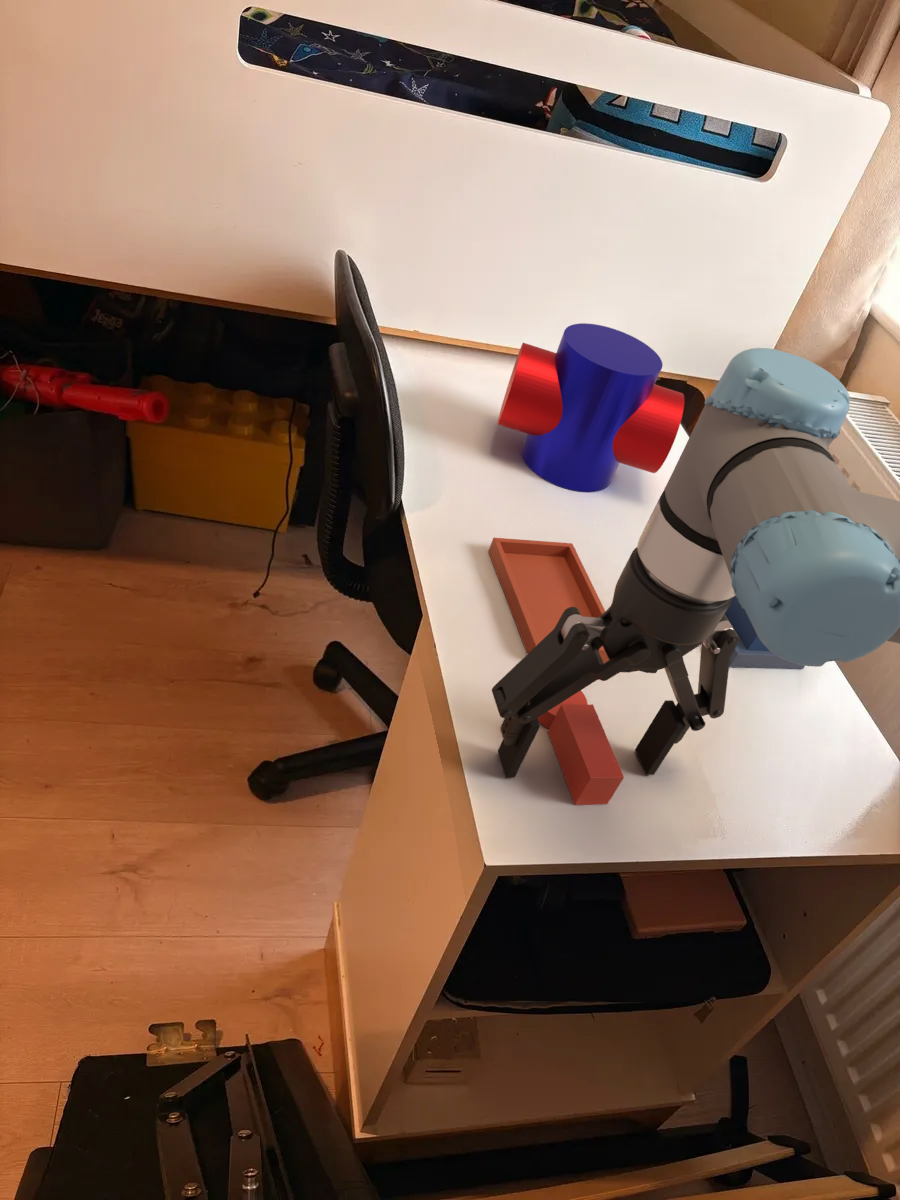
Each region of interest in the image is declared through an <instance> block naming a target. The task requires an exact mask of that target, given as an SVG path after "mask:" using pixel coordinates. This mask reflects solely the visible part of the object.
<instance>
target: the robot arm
mask: <svg viewBox="0 0 900 1200" xmlns="http://www.w3.org/2000/svg"><path fill="white" fill-rule="evenodd" d="M850 402H851V396H850V394H849V391H848V389H847V388H846V387H845V385H844V384H843V383H842V382H841V381H840V380H839V379H838V378H837V377H835V376H834V374H832V373H831V372H829V371H828V370H826V369H825V368H823V367H822V366H820V365H818V364H816V363H814V362H812V361H811V360H808V359H806V358H803V357H801V356H798V355H796V354H793V353H790V352H787V351H783V350H778V349H775V348H767V347H754V348H748V349H745V350H742V351H740V352H739V353H737V354H736V355H734V356H733V357H732V358H731V359H730V361H729V362H728V364H727V366H726V368H725V370H724V371H723V373H722V375H721V377H720V378H719V380H718V382H717V383H716V385H715V387H714V389H713V390H712V392H711V393H710V395H708V396H707V397H706V398H705V400H704V407H703V408H702V411H701V413H700V415H699V417H698V419H697V421H696V423H695V425H694V428H693V429H692V431H691V434H690V435H689V438H688V440H687V442H686V444H685V445H684V448H683V450H682V452H681V454H680V456H679V458H678V461H677V463H676V464H675V466H674V468H673V471H672V473H671V475H670V477H669V479H668V481H667V483H666V485H665V487H664V489H663V491H662V493H661V495H660V496H659V498H658V500H657V502H656V505H655V507H654V508H653V511H652V513H651V514H650V516H649V519H648V520H647V522H646V524H645V527H644V528H643V531H642V532H641V535H640V536H639V539H638V542H637V545H636V547H635V548H634V549H633V550H632V552H631V553H630V556H629V558H628V560H627V561H626V563H625V566H624V568H623V570H622V572H620V573H621V574H620V575H619V578H618V580H617V582H616V584H615V587H614V592H613V598H612V600H611V601H612V602H611V604H610V606H609V607H608V608H607V609H605V612H604V613H603V614H602V615H601V616H600V617H599V618H595V617H585V616H581V614H580V612H579V609H578V608H576V607H569V608H567V609H566V610H565V611H564V612H563V614H562V615H561V617H560V619H559V621H558V623H557V625H556V626H555V628H554V629H553V630H552V631H551V632H550V633H549V634H548V635H547V636H546V637H545V638H544V639H543V640H542V641H541V642H540V643H539V644H538V645H537V646H536V647H535V648H533V649H532V650H531V651H530V652H529V653H528V654H527V653H526V655H524V657H523V658H522V659H521V660H519V661H518V663H516V665H514V666H513V667H512V668H511V669H510V670H509V671H508V672H507V673H506V674H505V675H504V676H503V677H502V678H501V679H500V680H499V681H498V682H497V683H496V684H494V685H493V687H492V688H491V693H492V695H493V696H492V697H493V699H494V702H495V705H496V708H497V711H498V715H499V717H500V718H502V719H503V720H502V723H501V724H500V727H499V729H500V733H501V736H502V740H501V743H500V745H499V746H498V749H497V754H498V757H499V760H500V764H501V767H502V771H503V773H504V776H505V779H515V778H516V776H517V773H518V772H519V770H520V768H521V766H522V764H523V762H524V760H525V758H526V756H527V753H528V752H529V750H530V748H531V746H532V743H533V741H534V740H535V738H536V735H537V734H538V732H539V729H540V727H541V724H540V723H539V721H538V717H540V716H541V715H543V714H544V713H546V712H548V711H549V710H551V709H552V708H554V707H555V706H557V705H559V704H560V703H562V702H563V701H565V700H566V699H568V698H570V697H571V696H573V695H574V694H576V693H577V692H579V691H582V690H584V689H585V688H587V687H588V686H590V685H592V684H594V683H595V682H597V681H599V680H600V681H602V682H606V681H608V680H610V679H612V678H613V677H615V676H617V675H618V674H619V673H635V672H643V673H646V674H657V672H658V671H660V670H663V669H664V672H665V673H666V677H667V679H668V681H669V684H670V687H671V690H672V692H673V693H672V694H673V695H674V697H675V700H676V704H675V701H674V700H673V699H672V700H667V699H666V700H664V702H663V703H662V705H661V707H660V708H659V710H658V711H657V713H656V714H655V716H654V718H653V719H652V721H651V722H650V724H649V726H648V727H647V729H646V731H645V733H643V736H642V737H641V739H640V741H639V742H638V744H637V745H636V747H635V749H634V751H635V753H636V756H637V758H638V761H639V762H640V765H641V767H642V769H643V771H644V773H645V775H646V776H654V775H655V774H656V773H657V771H658V769H659V768H660V766H661V765H662V763H663V762H664V760H665V759H666V757H667V755H668V754H669V753H670V751H671V750H672V748H673V747H674V745H677V744H679V742H681V741H682V740H683V738H684V736H685V735H686V733H687V732H688V731H689V729H690V730H691V731H693V732H698V731H700V730H702V729H704V728H705V726H706V722H705V719H704V718H703V717H704V716H708V717H710V718H711V719H717V718H720V717H721V716H723V715H724V713H725V707H726V698H727V697H726V696H727V687H728V680H729V671H730V667H729V663H730V657H731V655H732V653H733V651H734V650H735V648H736V646H737V644H738V642H739V640H740V639H739V636H738V635H737V633H736V632H735V630H734V629H733V627H732V625H731V624H730V622H729V620H728V619H727V617H726V615H725V614H724V613H725V612H726V610H727V609H728V607H729V605H730V604H731V602H732V597H734V596H735V595H736V598H737V601H738V602H739V603H740V604H741V607H742V608H743V609H745V611H746V613H747V615H748V617H749V619H750V621H751V623H752V625H753V627H754V629H755V631H756V633H757V635H758V637H759V639H760V640H761V642H762V643H763V644H764V645H765V646H766V647H767V648H768V649H769V650H770V651H771V652H773V653H774V654H775V655H777V656H778V657H780V658H782V659H784V660H786V661H789V662H792V663H795V664H798V665H804V666H805V667H815V668H816V667H822V666H824V665H825V664H826V663H828V662H836V661H838V662H840V663H842V664H845V663H850V662H852V661H856V660H858V659H861V658H864V657H865V656H867V655H869V654H871V653H873V652H875V651H876V650H878V649H879V648H881V646H883V645H884V644H885V643H886V642H890V643H895V644H900V500H896V499H893V498H889V497H888V498H887V497H883V496H879V495H875V494H871V493H866V492H863V491H859V490H858V489H855V488H854V487H852V486H851V485H850V483H849V481H848V480H847V478H846V477H845V475H844V473H843V472H842V470H841V469H840V467H839V465H838V464H837V463H836V461H835V458H834V457H833V455H832V453H831V452H830V451H829V446H830V445H831V444H832V443H833V441H834V440H835V439H837V438H839V436H840V434H841V428H842V426H843V424H844V421H846V420H845V419H846V417H847V416H848V413H849V411H850ZM602 646H603V647H604V650H605V652H606V655H607V657H608V659H609V661H607V662H606V663H603V661H602V658H601V656H600V654H599V649H600V648H601V647H602ZM698 647H700V657H699V672H698V686H697V693H694V690H693V687H692V683H691V681H690V678H689V673H688V670H687V667H686V664H685V660H684V656H686V655H687V654H689V653H690V652H692V651H694V650H695V649H697V648H698Z"/></svg>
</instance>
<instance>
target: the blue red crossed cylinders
mask: <svg viewBox="0 0 900 1200" xmlns="http://www.w3.org/2000/svg"><path fill="white" fill-rule="evenodd" d="M517 354H518V355H517V357H516V360H515V363H514V365H513V368H512V371H511V374H510V377H509V381H508V383H507V387H506V391H505V394H504V397H503V400H502V404H501V407H500V411H499V415H498V419H497V423H496V424H497V425H498V426H501V427H505V428H507V429H511V430H514V431H517V432H520V433H524V434H526V436H525V439H524V440H523V444H522V447H521V449H520V450H521V451H520V452H521V457H522V460H523V462H524V463H525V464H526V466H527V467H528V468H529V470H531V471H532V472H533V473H534V474H536V475H537V476H538V477H539V478H541V479H543V480H545V481H546V482H548V483H550V484H552V485H555V486H557V487H558V488H559V487H560V488H562V489H566V490H569V491H574V492H580V493H596V492H599V491H603V490H605V489H606V488H608V487H609V486H610V484H611V483H612V480H613V478H614V476H615V474H616V472H617V470H618V467H619V465H620V464H623V465H626V466H629V467H632V468H636V469H639V470H642V471H644V472H648V473H652V474H656V473H657V472H658V471H659V470H660V469H661V468H662V467H663V465H664V463H665V461H666V460H667V458H668V456H669V454H670V452H671V450H672V448H673V445H674V443H675V441H676V437H677V435H678V433H679V429H680V426H681V423H682V419H683V414H684V409H685V395H684V393H683V392H679V391H677V390H674V389H670V388H668V387H665V386H661V385H659V384H656V382H657V381H658V378H659V376H660V374H661V371H662V369H663V361H662V359H661V357H660V356H659V354H658V353H657V352H656V351H655V350H654V349H653V348H652V347H650V346H649V345H648V344H647V343H645V342H643V341H642V340H640V339H639V338H636V337H634V336H632V335H631V334H628V333H626V332H623V331H621V330H619V329H615V328H612V327H609V326H606V325H601V324H595V323H586V322H585V323H584V322H582V323H581V322H580V323H574V324H571V325H568V326H567V327H565V329H564V331H563V333H562V336H561V339H560V341H559V344H558V346H557V350H556V352H554V351H551V350H548V349H545V348H542V347H538V346H537V345H536V346H535V345H532V344H530V343H526V342H522V344H521V346H520V348H519V351H518V353H517Z"/></svg>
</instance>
